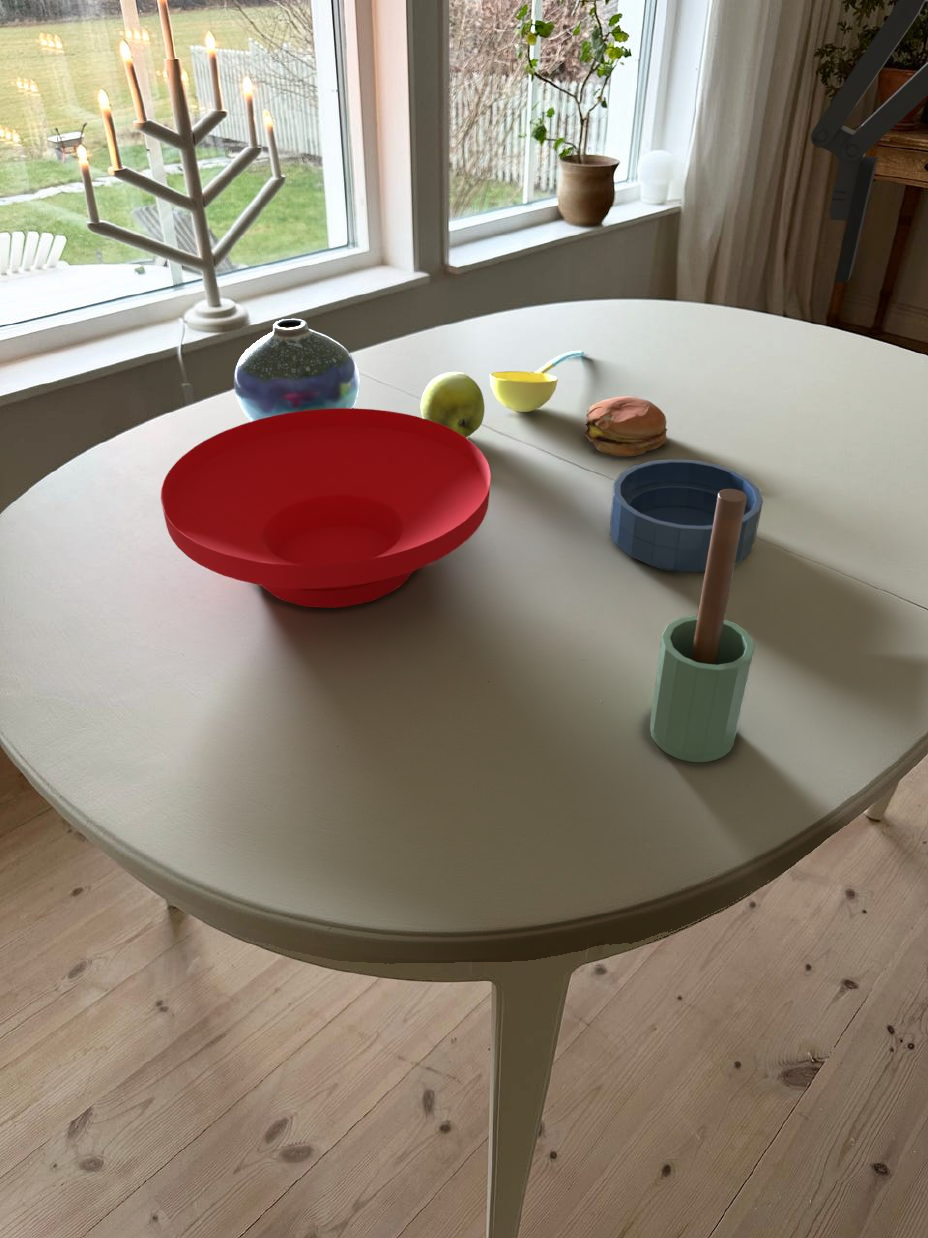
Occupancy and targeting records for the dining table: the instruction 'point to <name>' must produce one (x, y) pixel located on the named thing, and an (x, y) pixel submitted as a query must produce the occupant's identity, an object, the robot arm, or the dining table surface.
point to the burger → (625, 426)
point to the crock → (699, 692)
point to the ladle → (527, 386)
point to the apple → (454, 403)
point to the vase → (295, 373)
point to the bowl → (326, 502)
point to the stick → (718, 574)
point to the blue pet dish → (677, 512)
